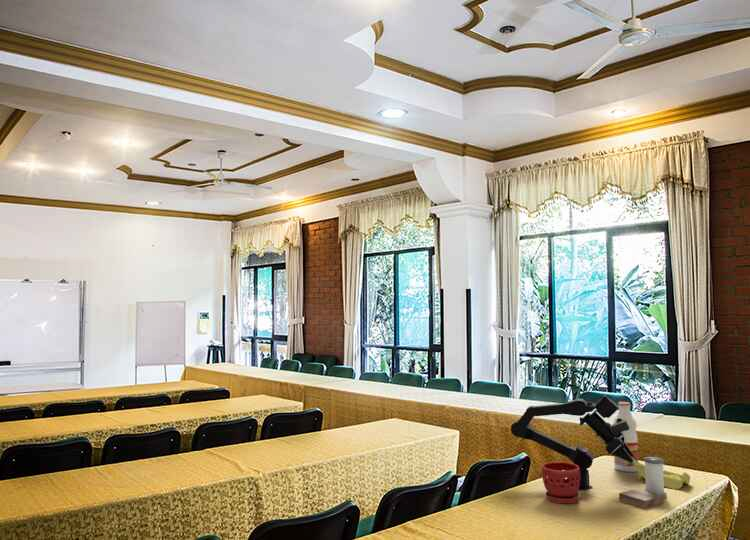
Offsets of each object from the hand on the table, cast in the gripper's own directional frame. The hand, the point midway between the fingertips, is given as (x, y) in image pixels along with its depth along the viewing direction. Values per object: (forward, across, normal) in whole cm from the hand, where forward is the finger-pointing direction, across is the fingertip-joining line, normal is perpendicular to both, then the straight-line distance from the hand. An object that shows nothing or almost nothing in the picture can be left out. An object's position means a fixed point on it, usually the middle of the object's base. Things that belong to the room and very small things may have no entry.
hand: (632, 459), depth 217 cm
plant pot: (-8, -19, +25) cm, 32 cm away
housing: (+14, 0, +4) cm, 14 cm away
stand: (+10, -10, +7) cm, 16 cm away
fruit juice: (+7, +34, +11) cm, 37 cm away
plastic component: (+16, +20, +2) cm, 25 cm away
